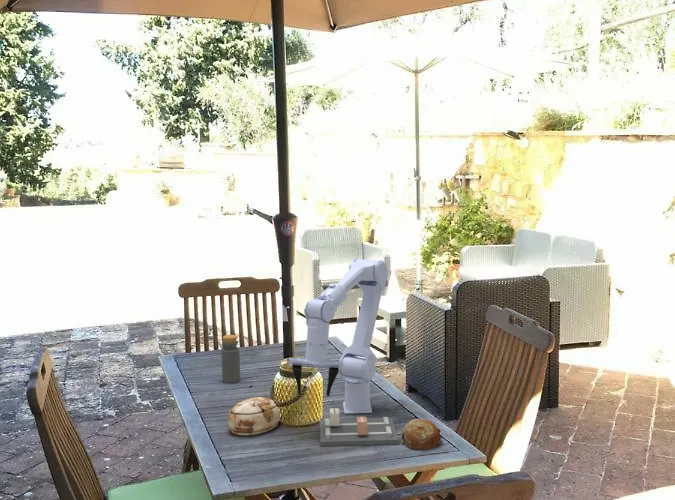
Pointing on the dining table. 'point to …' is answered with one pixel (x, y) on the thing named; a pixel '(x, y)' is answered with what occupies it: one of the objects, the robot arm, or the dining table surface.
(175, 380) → the dining table surface
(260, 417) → the trinket box
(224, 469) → the dining table surface
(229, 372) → the bottle
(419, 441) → the bread roll
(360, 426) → the fader
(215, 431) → the dining table surface
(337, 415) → the fader
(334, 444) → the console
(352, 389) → the robot arm
